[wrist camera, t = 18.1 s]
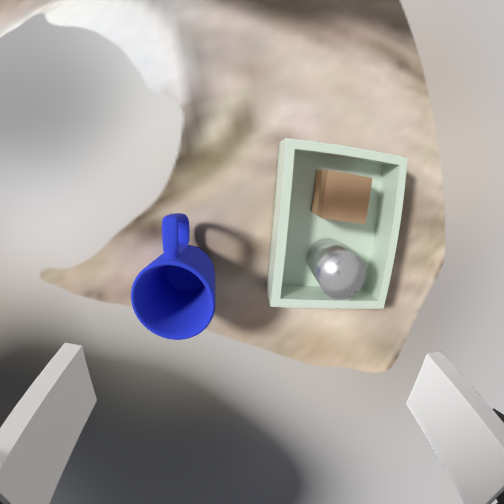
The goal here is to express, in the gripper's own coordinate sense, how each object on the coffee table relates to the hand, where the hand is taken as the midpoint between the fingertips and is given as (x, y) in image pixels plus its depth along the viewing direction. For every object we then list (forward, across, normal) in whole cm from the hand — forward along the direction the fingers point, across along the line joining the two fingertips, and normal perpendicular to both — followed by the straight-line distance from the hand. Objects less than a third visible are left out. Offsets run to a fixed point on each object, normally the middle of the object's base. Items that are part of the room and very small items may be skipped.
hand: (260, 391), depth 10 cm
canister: (+27, +10, -3) cm, 29 cm away
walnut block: (+27, +10, +5) cm, 29 cm away
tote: (+28, +10, +1) cm, 29 cm away
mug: (+28, -7, -3) cm, 29 cm away
